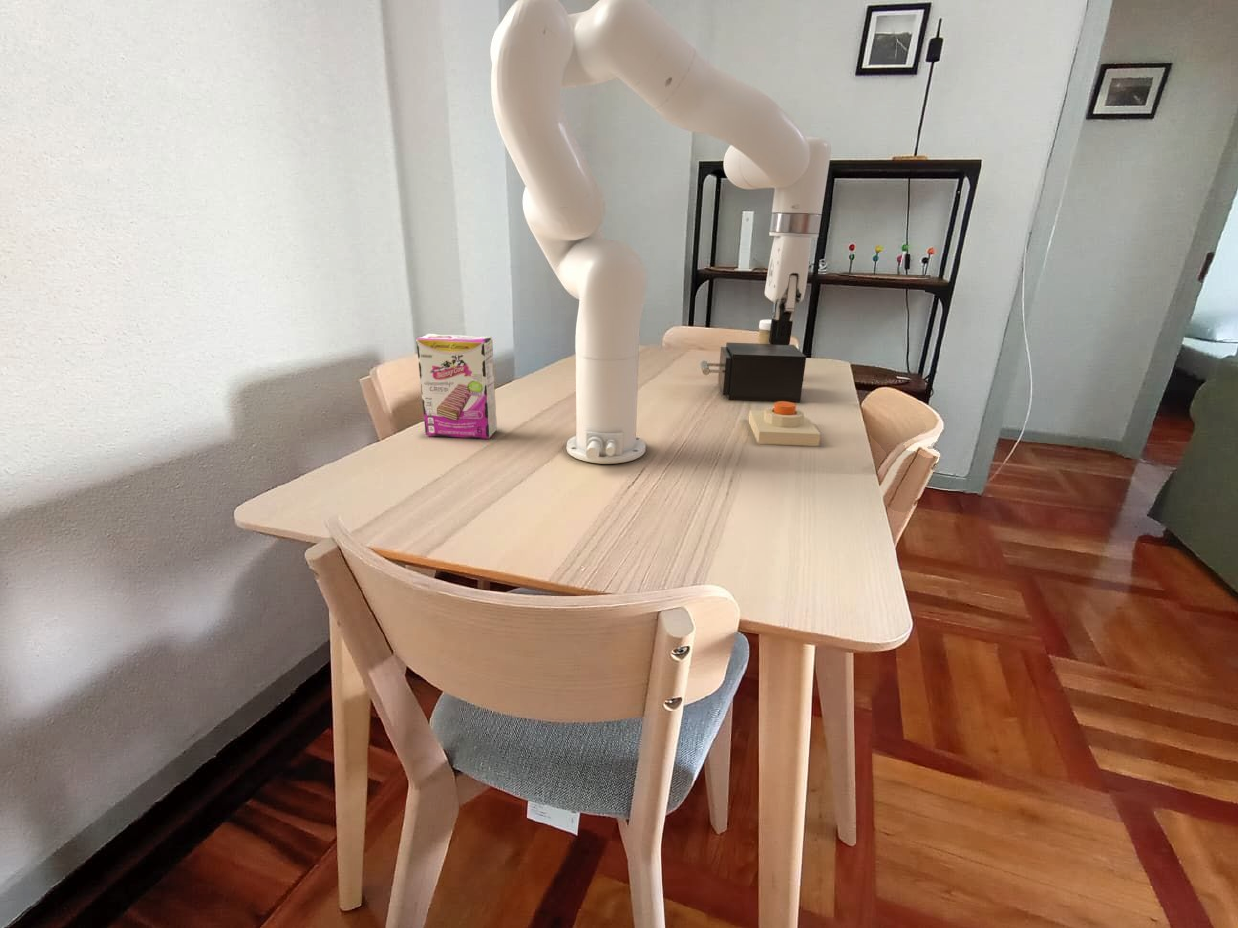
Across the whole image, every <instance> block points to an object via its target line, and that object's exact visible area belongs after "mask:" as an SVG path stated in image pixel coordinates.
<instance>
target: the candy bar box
mask: <svg viewBox="0 0 1238 928" xmlns="http://www.w3.org/2000/svg"><path fill="white" fill-rule="evenodd" d="M415 340H416V349H417V350H416V351H417V352H416V353H417V360H418V370H419V380H420V381H419V382H420V390H421V391H420V393H421V400H422V412H423V420H424V421H423V422H424V431H425V436H430V437H446V438H447V437H449V438H465V439H466V438H468V439H482V440H483V439H484V440H489V439H490V438H492V436H493V435H494V434H495V433H496V432H497V430H498V424H497V422H498V421H497V406H496V387H495V370H494V368H495V367H494V348H493V337H492V336H485V335H484V336H482V335H479V336H478V335H463V334H462V335H461V334H441V333H425V334H424V335H422V336H418V337H417V338H416V339H415Z"/></svg>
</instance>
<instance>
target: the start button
mask: <svg viewBox="0 0 1238 928" xmlns="http://www.w3.org/2000/svg"><path fill="white" fill-rule="evenodd" d="M773 407H774V413H776V414H780V415H795V410H796V409H797V403H792V402H787V401H779V402H774V404H773Z"/></svg>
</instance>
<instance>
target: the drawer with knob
mask: <svg viewBox="0 0 1238 928" xmlns="http://www.w3.org/2000/svg"><path fill="white" fill-rule="evenodd" d="M731 363H732V358H731V356H730V354H729V352H728V350H727V348H726V346H721V347H720V354H719V363H718V362H708V361H706V360H702V361H701V362H700V368H701V371H702V374H703V375H705V376H708V375H709V374H718V378H717V382H718V386H719V388H720V391H721V394H722V396H727V395H729V385H730V374H731ZM710 367H718V369H711V368H710Z"/></svg>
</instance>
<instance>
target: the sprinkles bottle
mask: <svg viewBox="0 0 1238 928" xmlns="http://www.w3.org/2000/svg"><path fill="white" fill-rule="evenodd" d="M771 320H772V319H760V320H759V325H758V330H759V333H758V339H757V340H758V341H757V343H758V344H770V342H769V336H770V328H771Z"/></svg>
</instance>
